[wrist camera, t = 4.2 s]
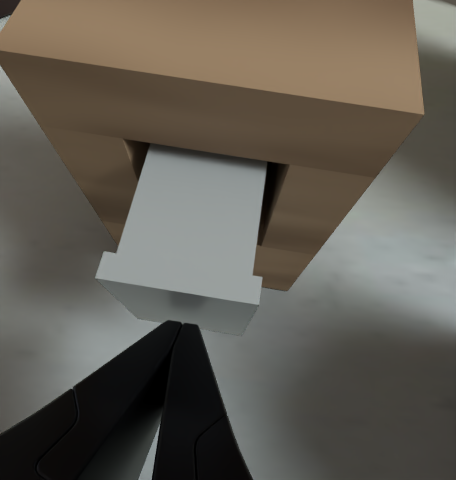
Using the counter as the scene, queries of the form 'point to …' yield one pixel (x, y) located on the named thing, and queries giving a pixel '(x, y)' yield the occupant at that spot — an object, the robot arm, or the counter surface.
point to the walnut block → (224, 100)
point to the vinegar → (8, 7)
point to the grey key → (190, 241)
